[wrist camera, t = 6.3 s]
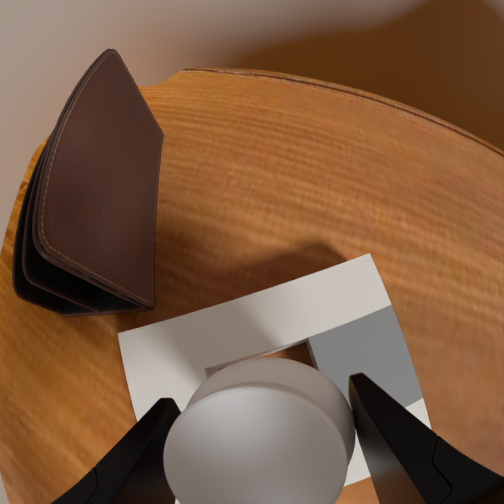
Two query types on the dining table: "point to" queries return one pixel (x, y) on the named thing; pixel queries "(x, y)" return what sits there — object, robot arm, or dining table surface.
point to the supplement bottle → (261, 437)
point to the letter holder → (93, 202)
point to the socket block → (281, 341)
